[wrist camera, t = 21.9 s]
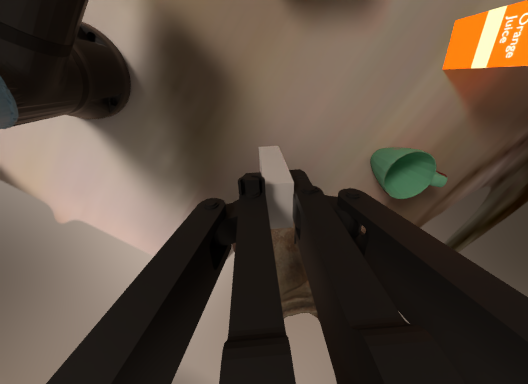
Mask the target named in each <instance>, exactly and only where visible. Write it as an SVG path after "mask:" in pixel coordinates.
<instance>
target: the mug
mask: <svg viewBox="0 0 528 384" xmlns="http://www.w3.org/2000/svg"><path fill="white" fill-rule="evenodd" d="M371 167H372V170H373V172H374V174H375V176H376V179H377V180H378V182H379V184H380V185H381V187H382V188H383V189H384V191H385V192H386V193H387V194H388V195H389V196H391V197H393V198H396V199H406V198H410V197H413V196H415V195H417V194H419V193H421V192H422V191H423V190H424V189H426V188H427V187H428V185H432V186H437V187H442V186H444V185H445V183H446V182H447V176H446V175H445V174H443V173H440V172H438V171H436V162H435V159H434V158H433V157H432V155H431V154H429V153H426V152H424V151H422V150H417V149H411V148H383V149H379V150H377V151H376V152H375V153H374V154H373V155H372V157H371Z"/></svg>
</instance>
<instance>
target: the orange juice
mask: <svg viewBox="0 0 528 384" xmlns="http://www.w3.org/2000/svg"><path fill="white" fill-rule="evenodd" d="M506 66H509V67H510V66H528V0H527V1H523V2H519V3H516V4H512V5H509V6H504V7H500V8H497V9H493V10H490V11H487V12H484V13H480V14H477V15H473V16H470V17H466V18H462V19H459V20H456V21H455V24H454V28H453V32H452V36H451V40H450V43H449V47H448V51H447V55H446V58H445V62H444V66H443V69H462V68H488V67H506Z"/></svg>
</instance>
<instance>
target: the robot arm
mask: <svg viewBox="0 0 528 384" xmlns="http://www.w3.org/2000/svg"><path fill="white" fill-rule="evenodd" d="M87 3H88V0H0V129H6V128H10V127H12V126H16V125H21V124H25V123H30V122H34V121H39V120H43V119H48V118H53V117H57V116H62V115H70V116H74V117H79V118H84V119H101V118H105V117H109V116H112V115H114V114H116V113H118V112H119V111H120V110H121V109H122V108H123V107H124V106H125V104H126V103H127V101H128V98H129V95H130V76H129V72H128V69H127V66H126V63H125V61H124V59H123V57H122V56H121V54H120V52H119V51H118V49H117V48H116V47H115V45H114V44H113V43H112V42H111V41H110V40H109V39H108V38H107V37H106V36H105V35H104V34H102V33H101V32H100V31H99V30H97V29H96V28H94V27H92V26H90V25H88V24H86V23H84V22H82V19H83V16H84V13H85V9H86V6H87ZM259 161H260V173H246V174H245V175H244V176H243V177H241V178H239V180H238V187H239V200H237V201H235V202H233V203H230V204H226V205H225V202H224V201H223V200H222V199H217V198H210V199H206V200H204V201H202V202H201V203H199V204H198V205H197V207H196V208H195V209H194V210H193V211H192V212H191V214H190V215H189V216H188V217H187V218H186V219H185V221H184V222H183V223H182V224H181V225H180V227H179V228H178V229H177V230H176V231H175V232H174V234H173V235H172V236H171V237H170V238H169V240H168V241H167V242H166V243H165V244H164V245H163V247H162V248H161V249H160V250H159V251H158V252H157V254H156V255H155V256H154V257H153V258H152V260H151V261H150V262H149V263H148V264H147V265H146V267H145V268H144V269H143V270H142V271H141V273H140V274H139V275H138V276H137V277H136V278H135V280H134V281H133V282H132V283H131V284H130V285H129V287H128V288H127V289H126V290H125V291H124V293H123V294H122V295H121V296H120V297H119V299H118V300H117V301H116V302H115V303H114V304H113V306H112V307H111V308H110V309H109V310H108V311H107V313H106V314H105V315H104V316H103V317H102V318H101V320H100V321H99V322H98V323H97V324H96V326H95V327H94V328H93V329H92V330H91V332H90V333H89V334H88V335H87V336H86V337H85V338H84V340H83V341H82V342H81V343H80V344H79V346H78V347H77V348H76V349H75V350H74V351H73V353H72V354H71V355H70V356H69V357H68V359H67V360H66V361H65V362H64V363H63V364H62V366H61V367H60V368H59V369H58V371H57V372H56V373H55V374H54V375H53V376H52V377H51V379H50V380H49V381H48V382H47V383H46V384H171V383H172V381H173V378H174V376H175V374H176V371H177V369H178V367H179V365H180V362H181V360H182V358H183V356H184V354H185V351H186V349H187V346H188V345H189V342H190V340H191V338H192V336H193V333H194V331H195V329H196V326H197V324H198V322H199V320H200V318H201V315H202V313H203V311H204V308H205V306H206V304H207V302H208V300H209V297H210V295H211V292H212V291H213V288H214V286H215V284H216V281H217V279H218V277H219V275H220V272H221V270H222V268H223V266H224V263H225V261H226V259H227V257H228V254H229V252H230V250H231V246H232V245H231V244H234V243H236V246H235V258H234V272H233V283H232V296H231V308H230V321H229V333H228V339H227V341H226V342H225V343H224V347H223V353H222V361H221V371H220V381H219V384H296V382H295V376H294V370H293V363H292V357H291V350H290V345H289V340H288V337H287V335H286V331H285V326H284V318H283V311H282V304H281V297H280V290H279V283H278V277H277V270H276V263H275V256H274V249H273V242H272V235H271V229H276V228H290V227H293V221H294V224H295V233H294V244H296V241H297V243H298V247H299V250H300V254H301V257H302V261H303V264H304V268H305V271H306V275H307V278H308V282H309V285H310V289H311V292H312V296H313V299H314V303H315V306H316V310H317V313H318V317H319V320H320V324H321V327H322V331H323V334H324V337H325V341H326V345H327V348H328V352H329V355H330V359H331V362H332V366H333V369H334V373H335V377H336V381H337V384H528V297H527V296H525V295H523V294H522V293H520V292H519V291H517V290H516V289H514V288H512V287H511V286H509V285H508V284H506V283H505V282H503V281H501V280H500V279H498V278H497V277H495V276H494V275H492V274H490V273H489V272H488V271H486V270H484V269H483V268H481V267H480V266H478V265H477V264H475V263H473V262H472V261H470V260H469V259H467V258H466V257H464V256H462V255H461V254H459V253H458V252H456V251H455V250H453V249H452V248H450V247H449V246H447V245H445V244H444V243H442V242H441V241H439V240H437V239H436V238H435V237H433V236H431V235H430V234H428V233H427V232H425V231H423V230H422V229H420V228H419V227H417V226H416V225H414V224H413V223H411V222H410V221H408V220H406V219H405V218H403V217H402V216H400V215H399V214H397V213H396V212H394V211H392V210H391V209H389V208H388V207H386V206H385V205H383V204H381V203H380V202H378V201H377V200H375V199H374V198H372V197H371V196H369V195H367V194H366V193H364V192H362V191H360V190H356V189H353V188H348V189H343V190H340V191H339V193H338V197H334V196H326V195H324V193H323V192H322V190H321V189H320V188H318V187H316V186H313V185H312V184H311V182H310V180H309V179H308V177H307V175H306V173H305V172H304V171H302V170H300V169H298V170H288V167H287V165H286V162H285V160H284V158H283V155H282V153H281V151H280V148H279V146H263V147H259ZM362 225H363V226H364V227H365V228H366V233H365V234H364V233H363V232H362V231H361V226H362ZM398 311H399V312H400V313H401V314H402V315H403V317H404V318H405V319H406V320H407V321H408V322H409V323H410V324H408V323H407V322H406V321H405V320H404V319H403V318H402V316H401V315H400V313H399V312H398Z"/></svg>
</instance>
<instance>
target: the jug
mask: <svg viewBox="0 0 528 384" xmlns="http://www.w3.org/2000/svg"><path fill="white" fill-rule="evenodd" d="M294 233H295V224H294V221H293V227H290V228H276V229H271V235H272V242H273V249H274V256H275V263H276V270H277V277H278V283H279V290H280V297H281V304H282V311H283V318H285V317H287V316H292V315H296V314H299V313H310V314H312V315H314V316H316V317H317V318H318V320H319V317H318V313H317V310H316V306H315V303H314V299H313V296H312V292H311V289H310V285H309V282H308V278H307V275H306V271H305V268H304V264H303V261H302V257H301V254H300V250H299V247H298V243H297V241H296V244H294ZM232 245H233V249H234V252H235V246H236V243H234V244H232ZM319 321H320V320H319Z"/></svg>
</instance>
